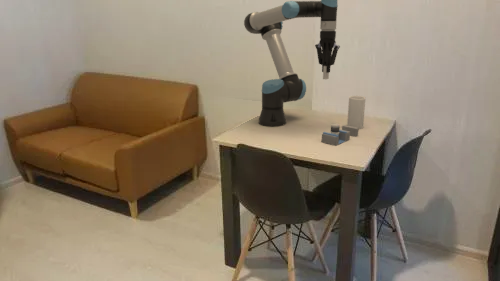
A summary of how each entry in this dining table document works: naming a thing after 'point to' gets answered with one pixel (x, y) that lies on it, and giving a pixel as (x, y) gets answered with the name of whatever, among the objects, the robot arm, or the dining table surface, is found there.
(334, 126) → the plug
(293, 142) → the dining table surface
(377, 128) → the dining table surface
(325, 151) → the dining table surface
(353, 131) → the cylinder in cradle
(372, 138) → the dining table surface
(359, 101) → the cup
